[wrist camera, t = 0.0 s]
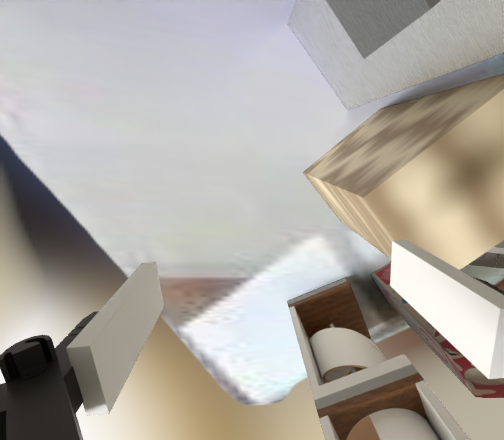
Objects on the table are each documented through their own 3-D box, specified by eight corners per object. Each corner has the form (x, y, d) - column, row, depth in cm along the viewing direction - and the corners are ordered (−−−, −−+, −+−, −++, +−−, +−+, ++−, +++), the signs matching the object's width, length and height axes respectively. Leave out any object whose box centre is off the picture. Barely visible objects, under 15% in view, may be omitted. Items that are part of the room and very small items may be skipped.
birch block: (340, 220, 44) (431, 289, 22) (302, 172, 42) (363, 197, 20) (415, 163, 42) (592, 179, 20) (379, 109, 40) (535, 64, 18)
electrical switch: (485, 216, 44) (543, 240, 35) (472, 245, 46) (524, 274, 37) (429, 209, 44) (474, 232, 35) (418, 238, 46) (459, 267, 37)
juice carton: (388, 303, 48) (504, 427, 26) (370, 274, 46) (477, 382, 25) (422, 283, 47) (570, 394, 26) (405, 253, 45) (546, 346, 24)
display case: (365, 330, 49) (634, 735, 15) (310, 351, 50) (448, 780, 16) (345, 277, 46) (616, 629, 12) (287, 301, 47) (393, 689, 13)
